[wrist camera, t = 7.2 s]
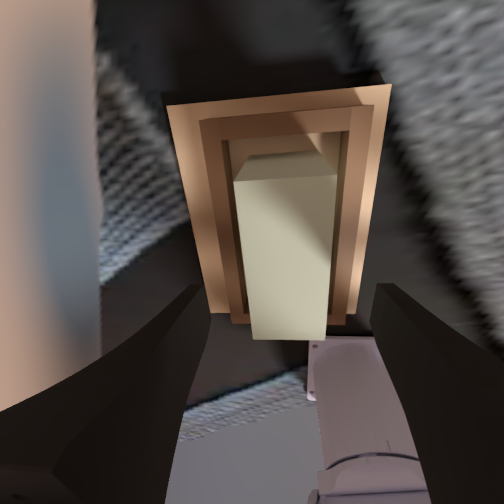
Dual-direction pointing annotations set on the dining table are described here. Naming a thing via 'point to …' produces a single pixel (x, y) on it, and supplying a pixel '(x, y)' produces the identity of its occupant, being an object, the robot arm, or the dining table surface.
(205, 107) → the slot board
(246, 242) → the beige block
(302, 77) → the dining table surface
